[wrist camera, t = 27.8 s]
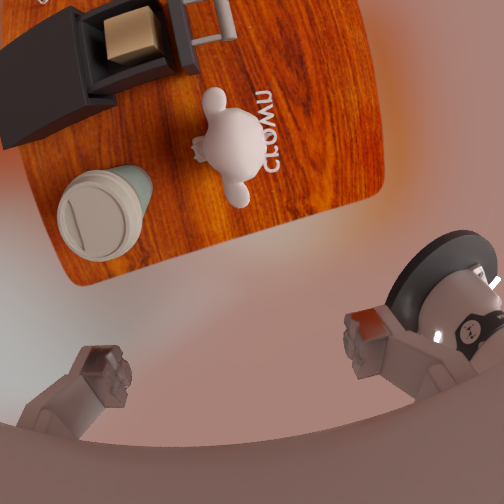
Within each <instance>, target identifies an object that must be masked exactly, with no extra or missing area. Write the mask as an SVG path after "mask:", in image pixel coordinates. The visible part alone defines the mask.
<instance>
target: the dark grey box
mask: <svg viewBox="0 0 504 504" xmlns="http://www.w3.org/2000/svg"><path fill="white" fill-rule="evenodd" d="M82 14H85V13H83V12H81V11H80V10H78V9H76V8H74V7H73V6H68V7H67V8H65V9H63V10H61V11H59V12H57V13H56V14H54V15H52V16H51V17H49V18H47V19H45V20H44V21H42V22H41V23H39V24H37V25H36V26H34V27H33V28H31V29H30V30H28V31H27V32H25V33H24V34H22V35H21V36H19V37H18V38H16V39H15V40H14V41H12V42H11V43H10V44H8V45H7V46H6V47H4V48H3V49H2V50H0V137H1V141H2V146H3V150H6V149H9V148H12V147H16V146H19V145H22V144H26V143H30V142H33V141H37V140H41V139H44V138H46V137H48V136H50V135H51V134H53V133H55V132H57V131H59V130H62V129H64V128H66V127H68V126H70V125H72V124H74V123H76V122H79V121H81V120H83V119H85V118H88V117H90V116H92V115H95V114H97V113H99V112H102V111H104V110H107V109H109V108H112V107H114V106H117V100H116V96H115V94H113V95H99V94H87V89H86V84H85V79H84V74H83V69H82V63H81V57H80V51H79V45H78V38H77V31H76V23H75V18H76V17H78V16H80V15H82Z"/></svg>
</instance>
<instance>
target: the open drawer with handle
mask: <svg viewBox="0 0 504 504" xmlns="http://www.w3.org/2000/svg"><path fill="white" fill-rule="evenodd" d="M201 1H206V0H167V2H168V7H169V12H170V17H171V22H172V26H173V31H174V36H175V40H176V45H177V50H178V54H179V59H180V63H181V67H182V68H183V69H184V70H185V71H186V72H187V73H188V74H189V75H190V76H191V75H195V74H199V73H201V72H200V67H199V63H198V58H197V54H196V49H195V46H197V45H201V44H205V43H210V42H215V41H219V40H223V41H225V42H227V41H233V40H235V39H237V35H236V30H235V26H234V22H233V18H232V14H231V9H230V5H229V1H228V0H213V1H214V5H215V10H216V14H217V18H218V22H219V27H220V31H221V34H217V35H212V36H207V37H203V38H199V39H194V40H193V36H192V31H191V27H190V22H189V18H188V13H187V9H186V5H188V4H192V3H197V2H201ZM146 6H149V8H150V9H151V10H152V11H153V13H154V14H155V15H156V17H157V18H158V19H159V21H160V22H161V26H162V33H163V40H164V47H165V53H166V56H165V57H161V58H157V59H153V60H150V61H146V62H143V63H139V64H136V65H132V66H129V67H126V66H124V65H121V64H119V63H116V62H114V61H111V60H109V59H108V56H107V48H106V39H105V29H104V20H107V19H109V18H112V17H115V16H118V15H121V14H124V13H127V12H130V11H133V10H136V9H139V8H142V7H146ZM75 23H76V31H77V38H78V45H79V51H80V57H81V63H82V69H83V74H84V79H85V84H86V89H87V94H99V95H113V94H116V93H118V92H121V91H123V90H126V89H129V88H132V87H134V86H137V85H140V84H143V83H146V82H149V81H152V80H155V79H158V78H162V77H165V76H168V75H172V74H175V73H177V72H176V67H175V63H174V58H173V54H172V49H171V44H170V40H169V35H168V30H167V25H166V21H165V16H164V11H163V6H162V5H161V3H160V2H159V0H114V1H111V2H109V3H107V4H104V5H102V6H100V7H97V8H95V9H93V10H91V11H89V12H87V13H85V14H82V15H80V16H78V17H76V18H75Z"/></svg>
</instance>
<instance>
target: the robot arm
mask: <svg viewBox="0 0 504 504" xmlns="http://www.w3.org/2000/svg"><path fill="white" fill-rule="evenodd" d="M499 281H500V278H499V277H498V276H497V277H496V278H495V279H494V281H493V282H492V283H491V284H490V285H488V282H487V279H486V276H485V273H484V271H483V268H482V266H481V265H480V264H478V263H477V264H475V265H473V266H472V267H470V268H468V269H465V270H459V271H456V272H453V273H451V274H450V275H448V276H446V277H445V278H444V279H442V280H441V281H440V282H439V283H438V284H437V285H436V286H435V287H434V288H433V289H432V291H431V292H430V293H429V295H428V296H427V298H426V299H425V301H424V303H423V305H422V307H421V310H420V313H419V319H418V324H419V328H418V331H417V333H415V332H412V331H410V330H408V331H405V330H404V328H403V327H402V325H401V324H400V323H399V321H398V320H397V319H396V317H395V316H394V315H393V313H392V312H391V311H390V309H389V308H388V307H387V306H386V305H381V306H377V307H373V308H371V309H366V310H362V311H358V312H353V313H349V314H346V315H345V319H344V324H345V326H346V328H347V329H346V331H345V332H344V338H343V340H344V348H345V351H346V354H347V356H348V358H350V359H351V360H353V363H352V368H353V370H354V372H355V374H356V376H357V379H363V378H367V377H371V376H375V375H379V374H380V375H381V376H382V377H384V378H385V379H386V380H388V381H389V382H391V383H393V384H394V385H395V386H397V387H398V388H400V389H401V390H403V391H404V392H406V393H407V394H409V395H410V396H411V397H413V398H415V402H414V403H413V404H411V405H407V406H405V407H402V408H399V409H396V410H393V411H390V412H387V413H384V414H381V415H378V416H375V417H371V418H368V419H365V420H361V421H358V422H354V423H351V424H347V425H343V426H339V427H335V428H331V429H326V430H322V431H318V432H313V433H308V434H303V435H298V436H292V437H286V438H280V439H274V440H268V441H261V442H252V443H243V444H232V445H219V446H200V447H145V446H128V445H115V444H105V443H97V442H89V441H81V440H79V438H80V437H81V436H82V435H83V434H84V433H85V431H86V430H87V429H88V428H89V427H90V425H91V424H92V423H93V422H94V421H95V420H96V419H97V417H98V416H99V415H100V414H101V413H102V412H103V410H104V409H105V408H124V406H125V402H126V399H127V395H128V394H127V392H126V389H127V388H128V387H129V386H130V384H131V381H132V372H131V368H130V366H129V364H128V362H127V361H126V360H124V359H123V358H122V354H123V352H122V351H121V349H120V347H119V346H117V345H105V346H104V345H103V346H84V347H82V348H81V350H80V351H79V353H78V356H77V357H76V360H75V362H74V363H73V365H72V368H71V370H70V372H69V374H68V375H64V376H63V377H61V378H60V379H59V380H57V381H56V382H55V383H54V384H52V385H51V386H50V387H49V388H47V389H46V390H45V391H43V392H42V393H41V394H39V395H38V396H37V397H36V398H34V399H33V400H32V401H31V402H29V403H28V404H27V405H26V406H25V408H24V410H23V412H22V415H21V417H20V419H19V421H18V423H17V425H16V427H15V426H11V425H8V424H4V423H1V422H0V504H504V312H502V311H501V310H500V306H501V304H502V301H501V300H500V297H499V295H498V294H497V293H495V291H494V290H493V288H494V287H495V286H496V284H497V283H498V282H499Z"/></svg>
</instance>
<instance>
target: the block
mask: <svg viewBox="0 0 504 504" xmlns="http://www.w3.org/2000/svg"><path fill="white" fill-rule="evenodd" d="M104 29H105V39H106V48H107V56H108V59H109V60H111V61H114V62H116V63H119V64H121V65H124V66H126V67H129V66H132V65H136V64H139V63H143V62H146V61H150V60H153V59H157V58H161V57H165V56H166V53H165V47H164V40H163V33H162V26H161V22H160V21H159V19H158V18H157V17H156V15H155V14H154V13H153V11H152V10H151V9H150V8H149V6H146V7H142V8H139V9H136V10H133V11H130V12H127V13H124V14H121V15H118V16H115V17H112V18H109V19H107V20H104Z"/></svg>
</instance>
